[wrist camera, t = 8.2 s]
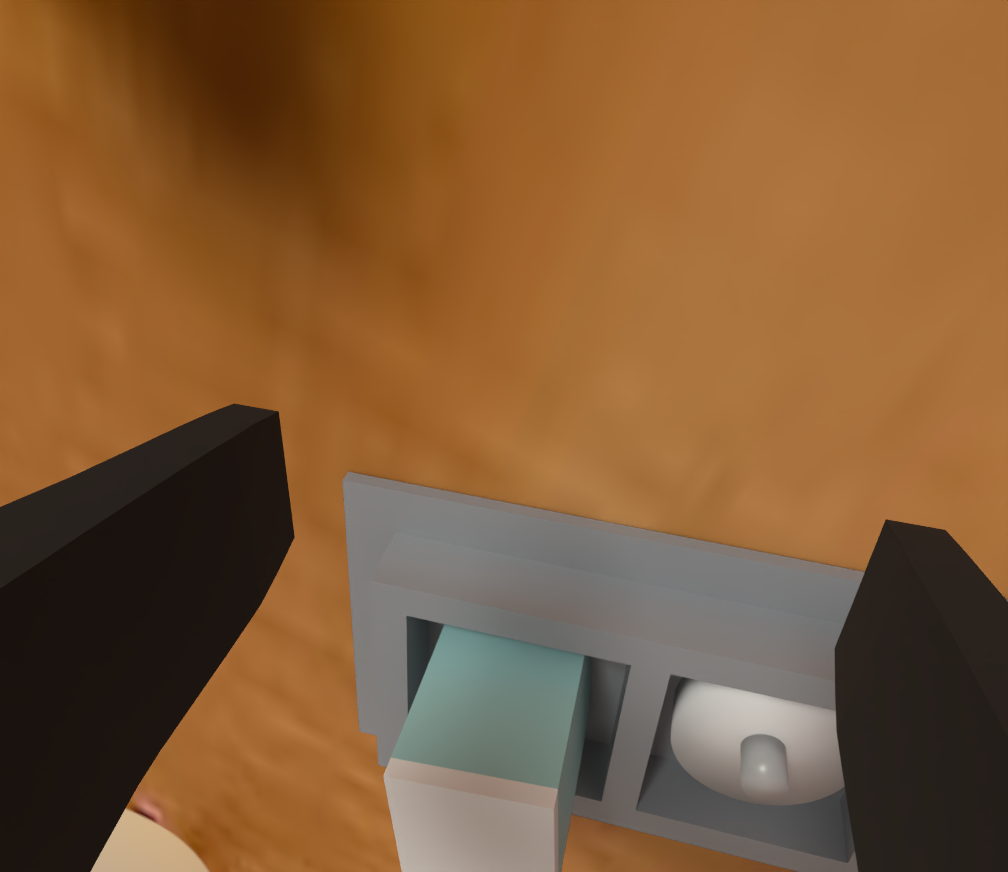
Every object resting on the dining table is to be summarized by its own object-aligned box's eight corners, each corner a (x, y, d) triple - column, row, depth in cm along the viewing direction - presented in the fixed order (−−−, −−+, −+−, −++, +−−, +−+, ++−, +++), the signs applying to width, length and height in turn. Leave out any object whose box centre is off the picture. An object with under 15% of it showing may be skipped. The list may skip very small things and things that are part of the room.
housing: (1046, 607, 20) (1087, 699, 17) (897, 853, 26) (913, 945, 24) (348, 471, 23) (304, 535, 20) (363, 721, 29) (331, 792, 26)
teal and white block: (592, 615, 23) (553, 809, 18) (590, 709, 25) (555, 905, 20) (455, 595, 24) (383, 776, 19) (464, 688, 26) (401, 871, 21)
